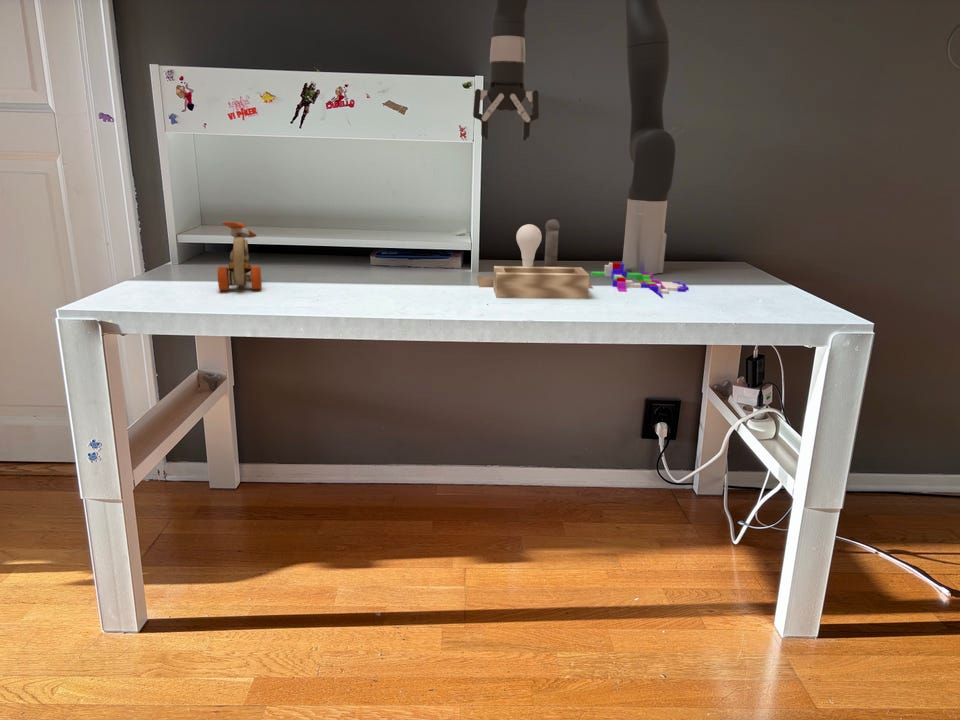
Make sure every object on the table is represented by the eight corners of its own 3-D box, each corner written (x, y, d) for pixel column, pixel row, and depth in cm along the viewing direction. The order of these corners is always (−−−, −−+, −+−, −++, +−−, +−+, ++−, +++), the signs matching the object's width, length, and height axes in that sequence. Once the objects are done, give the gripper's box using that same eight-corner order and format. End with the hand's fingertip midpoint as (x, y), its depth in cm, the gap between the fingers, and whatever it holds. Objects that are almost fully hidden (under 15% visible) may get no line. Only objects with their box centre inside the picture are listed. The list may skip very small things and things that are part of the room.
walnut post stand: (583, 282, 158) (587, 217, 153) (593, 293, 147) (598, 223, 143) (476, 281, 156) (478, 215, 152) (479, 291, 146) (480, 221, 142)
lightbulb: (532, 273, 167) (535, 226, 164) (510, 270, 170) (512, 224, 167) (544, 269, 172) (546, 224, 169) (522, 266, 175) (524, 222, 172)
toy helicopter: (218, 294, 138) (211, 224, 134) (225, 274, 157) (219, 212, 153) (261, 293, 140) (256, 223, 136) (263, 273, 159) (258, 212, 155)
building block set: (696, 302, 144) (699, 280, 142) (595, 298, 145) (596, 277, 144) (675, 278, 167) (677, 260, 166) (588, 275, 169) (590, 257, 168)
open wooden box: (579, 291, 146) (581, 267, 144) (587, 300, 138) (589, 275, 136) (493, 290, 145) (494, 266, 143) (496, 299, 137) (496, 274, 135)
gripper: (538, 63, 155) (534, 140, 160) (473, 61, 154) (472, 139, 159) (542, 60, 147) (539, 141, 152) (475, 58, 147) (473, 139, 152)
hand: (504, 140), depth 156 cm, fingers open, 8 cm apart
